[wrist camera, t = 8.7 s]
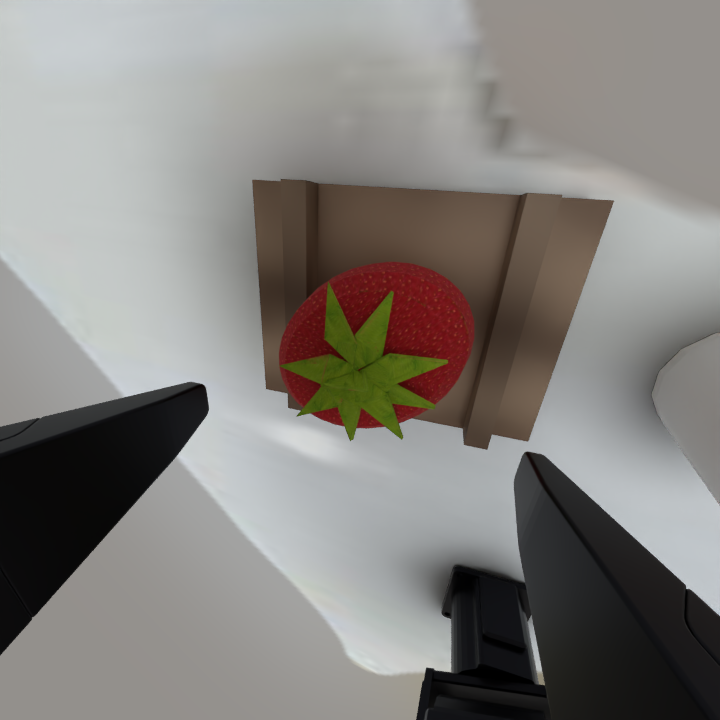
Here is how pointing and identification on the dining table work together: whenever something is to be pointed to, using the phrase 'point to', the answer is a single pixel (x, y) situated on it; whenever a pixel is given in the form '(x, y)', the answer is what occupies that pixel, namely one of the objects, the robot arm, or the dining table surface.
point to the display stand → (450, 259)
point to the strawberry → (376, 346)
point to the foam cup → (694, 406)
